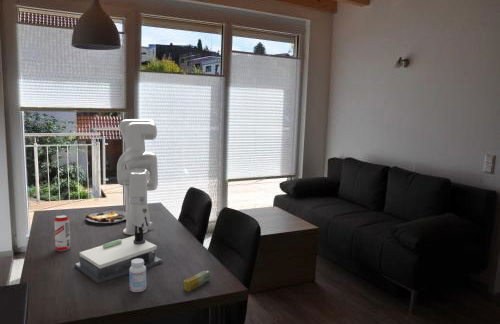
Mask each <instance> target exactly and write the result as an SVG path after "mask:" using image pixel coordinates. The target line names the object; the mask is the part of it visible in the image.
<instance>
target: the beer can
mask: <svg viewBox="0 0 500 324" xmlns="http://www.w3.org/2000/svg"><path fill="white" fill-rule="evenodd" d="M53 221H54V224H53V225H54V242H55V246H54V247H55V250H56V251H58V252H65V251H68V250H69V249H70V248H71V232H70V231H71V230H70V229H71V228H70V218H69V216H68V214H59V215H56V216H55V218H54V220H53Z"/></svg>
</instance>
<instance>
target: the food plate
mask: <svg viewBox="0 0 500 324" xmlns="http://www.w3.org/2000/svg"><path fill="white" fill-rule="evenodd" d="M84 220H86V221H87V222H90V223H95V224H117V223H119V222H123V221H124V220H125V221H126V211H124V210H123V211H121V210H104V211H103V210H102V211H97V212H93V213H91V214H87V215H86V216H85V219H84Z"/></svg>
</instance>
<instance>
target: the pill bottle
mask: <svg viewBox="0 0 500 324" xmlns="http://www.w3.org/2000/svg"><path fill="white" fill-rule="evenodd" d="M131 265H132V266H131V267H130V269H129V274H128V275H129V290H130V291H131V292H133V293H140V292H144V291H145V290H146V289H147V268H146V267H145V266H144V260H143V259H140V258H137V259H133V260H132V261H131Z"/></svg>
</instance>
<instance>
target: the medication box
mask: <svg viewBox="0 0 500 324" xmlns="http://www.w3.org/2000/svg"><path fill="white" fill-rule="evenodd" d="M207 281H208V282H210V271H209V270H205V269H204V270H202V271H200V272H198V273H196V274H194V275H192V276H190V277H188V278H186V279H184V280H183V291H187V292H190V291H192V290H194V289H196V288H199V287H201V286H203V285H204V284H206V283H208V282H207ZM205 282H206V283H205Z"/></svg>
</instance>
